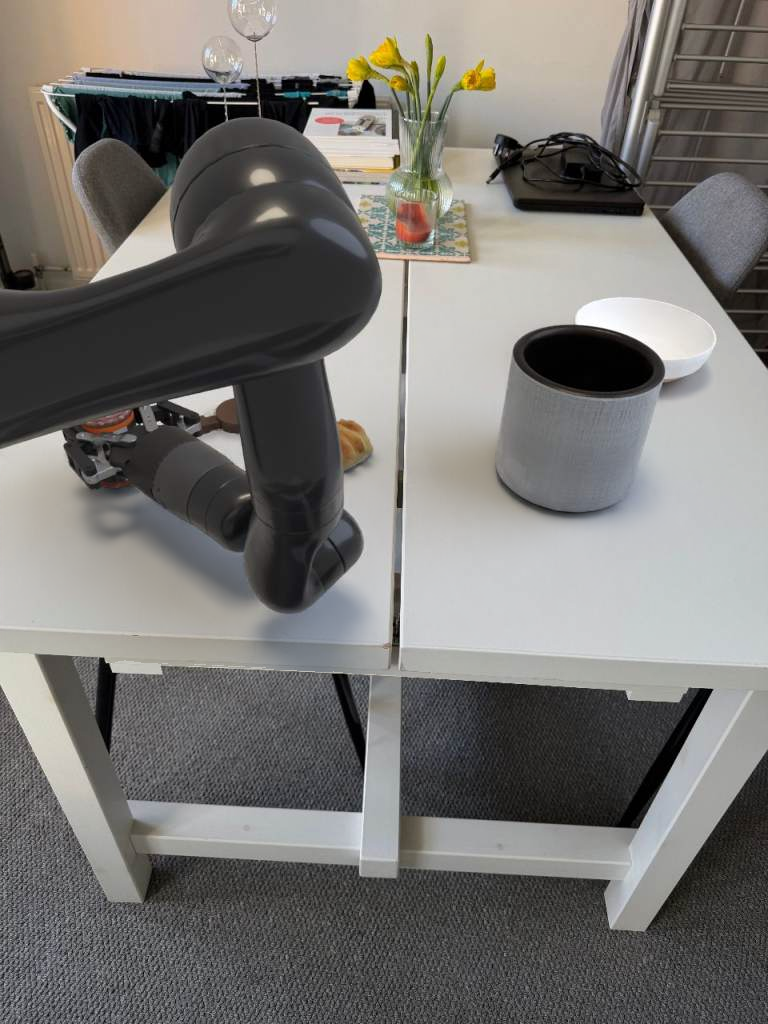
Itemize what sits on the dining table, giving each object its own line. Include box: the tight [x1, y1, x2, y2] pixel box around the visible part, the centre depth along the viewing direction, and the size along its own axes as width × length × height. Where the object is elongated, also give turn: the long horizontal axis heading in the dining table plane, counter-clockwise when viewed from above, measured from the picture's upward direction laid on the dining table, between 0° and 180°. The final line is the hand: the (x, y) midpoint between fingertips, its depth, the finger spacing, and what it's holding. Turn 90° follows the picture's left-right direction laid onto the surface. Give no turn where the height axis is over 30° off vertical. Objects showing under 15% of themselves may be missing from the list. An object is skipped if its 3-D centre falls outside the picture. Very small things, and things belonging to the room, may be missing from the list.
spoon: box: [162, 397, 240, 435], centre depth 91 cm, size 23×6×1 cm, turn 117°
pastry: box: [336, 418, 374, 473], centre depth 86 cm, size 9×7×4 cm
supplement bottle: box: [80, 409, 138, 489], centre depth 79 cm, size 6×6×11 cm
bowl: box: [573, 296, 717, 383], centre depth 105 cm, size 20×20×6 cm
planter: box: [495, 324, 665, 513], centre depth 81 cm, size 16×16×16 cm
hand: (94, 414), depth 80 cm, fingers closed on supplement bottle, 6 cm apart
